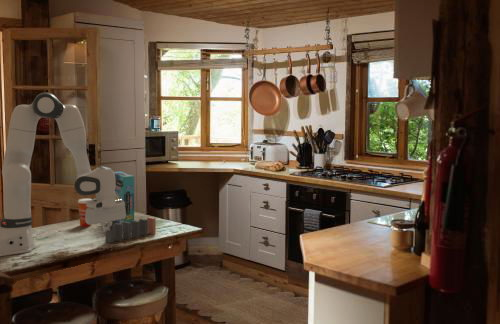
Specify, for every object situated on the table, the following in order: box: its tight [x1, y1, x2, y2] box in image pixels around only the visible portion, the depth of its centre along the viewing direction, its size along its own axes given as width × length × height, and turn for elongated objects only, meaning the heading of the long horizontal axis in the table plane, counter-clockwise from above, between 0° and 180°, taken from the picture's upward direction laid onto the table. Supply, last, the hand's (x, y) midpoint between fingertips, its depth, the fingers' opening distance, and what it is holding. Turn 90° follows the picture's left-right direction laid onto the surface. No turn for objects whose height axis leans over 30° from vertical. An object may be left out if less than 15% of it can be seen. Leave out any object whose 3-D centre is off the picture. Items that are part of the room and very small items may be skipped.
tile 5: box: [138, 218, 149, 237], centre depth 273 cm, size 2×4×8 cm, turn 49°
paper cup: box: [77, 198, 93, 228], centre depth 291 cm, size 8×8×14 cm
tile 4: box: [131, 219, 141, 239], centre depth 269 cm, size 2×4×8 cm, turn 49°
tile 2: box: [113, 222, 124, 243], centre depth 262 cm, size 2×4×8 cm, turn 49°
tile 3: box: [123, 221, 132, 240], centre depth 266 cm, size 2×4×8 cm, turn 49°
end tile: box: [147, 216, 157, 235], centre depth 277 cm, size 2×4×8 cm, turn 49°
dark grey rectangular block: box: [105, 224, 115, 244], centre depth 258 cm, size 2×4×8 cm, turn 50°
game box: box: [113, 171, 135, 224], centre depth 298 cm, size 20×6×27 cm, turn 31°
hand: (106, 230), depth 256 cm, fingers closed
